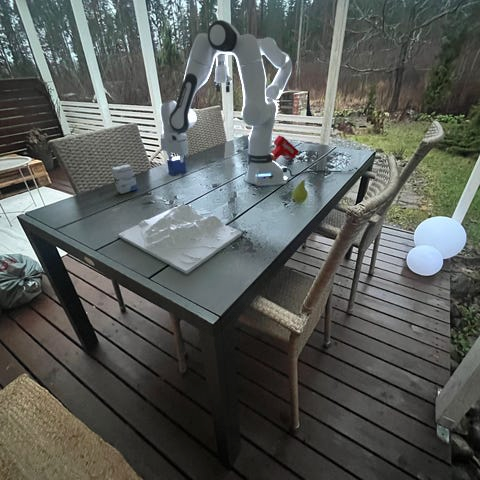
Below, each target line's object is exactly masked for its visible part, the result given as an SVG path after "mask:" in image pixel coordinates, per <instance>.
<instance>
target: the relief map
mask: <svg viewBox="0 0 480 480" xmlns="http://www.w3.org/2000/svg"><path fill="white" fill-rule="evenodd" d="M242 235H243V231H242V230H239V229H238V228H234V227H231V226H229V225H226V224H224V223H223V222H222V221H221V220H220V219H219V218H218V216H216V215H214V214H212V215H210V216H207V217H205V216H204V215H203V214H199V213H198V212H197V211H196V209H195V208H194V207H193V206H192V205H191V204H187V205H186V204H185V202H182V204H180V205H179V206H174V207H171V208H170V209H168V210H165V211H163V212H161V213H159V214H157V215H154V216H153V217H150V218H149V219H143V220H141V221H140V222H139V223H138V224H137V225H134V226H132V227H129V228H128V229H126V230H123V231H122V232H120V233H117V236H118V238H120V239H121V240H123V241H125V242H127V243H129V244H131V245H132V246H134V247H136V248H138V249H140V250H141V251H143V252H145V253H147V254H149V255H151V256H153V257H154V258H156V259H158V260H160V261H162V262H163V263H165V264H166V265H169V266H171V267H173V268H175V269H176V270H178V271H180V272H182V273H183V274H185V275H188V274H190V273H191V272H192V271H193V270H195V269H196V268H198V267H199V266H201V265H202V264H203V263H205V262H206V261H208V260H209V259H211V258H212V257H214V256H215V255H216V254H217V253H219V252H220V251H222V250H223V249H224V248H226V247H227V246H229V245H230V244H231V243H233V242H235V241H236V240H237V239H238V238H240V237H241V236H242Z"/></svg>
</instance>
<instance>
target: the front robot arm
mask: <svg viewBox="0 0 480 480" xmlns="http://www.w3.org/2000/svg"><path fill="white" fill-rule="evenodd" d="M256 39H257V38H256V37H255V35H254V34H251V33H244V34H241V32H240V31H239V30H238V29H237V28H236V27H235V26H234V25H233V24H231V23H229V22H228V21H225V20H223V19H222V20H221V19H219V20H215V21H213V22H212V23H211V24H210V25H209V27H208V31H207V33H205V32H200V33H197V35H196V36H195V38H194V41H193V44H192V46H191V49H190V52H189V56H188V59H187V65H186V69H185V72H184V73H185V74H184V78H183V81H182V85H181V87H180V92H179V94H178V98H177V101H175V100H168V101H164V102H162V103H161V104H160V105H159V114H160V120H161V123H162V133H161V134H160V148H161V150H162V151H165V152H166V155H167V156H168V159H170V158H173V155H172V154H176V155H178V156H180V159H179V162H181V163H182V162H183V158H185V156H187V155H188V154H189V152H190V150H189V143H188V141H187V139H188V136H187V134H186V131H188V130H190V129H191V128H192V127H193V126H194V125H196V123H197V114H196V112H195V110H193V109H192V108H191V107H192V104H193V101H194V97H195V95H196V93H197V92H198V91H199V90H200V88H202V87H203V86H204V85H205V84H206V83H207V82H208V79H209V78H210V75H211V73H212V70H213V67H214V66H213V65H214V63H215V60H216V56H217V55H218V54H221V55H227V56H234V57H235V60H236V64H237V68H238V73H239V77H240V81H241V86H242V97H243V98H242V99H243V100H242V101H243V104H242V105H243V106H242V108H241V109H242V110H241V118H242V120H243V123H245V125H246V126H250V127H251V130H250V132H249V136H248V152H247V155H246V156H247V157H246V158H247V159H246V162H247V171H246V175H245V177H244V179H245V180H244V181H245V182H246V183H249V184H252V185H255V186H257V187H267V186H279V185H286V184H288V182H289V181H288V180H289V179H288V177H287V176H286V175H285V173H287V172H288V171H289V175H290V176H291V177H296V176H298V175H301V174H306V173H342V172H341V171H342V170H323V169H322V170H319V169H318V170H306V171H301V172H298V173H296V174H293V173H292V170H291V168H289V167H287V166H285V165H284V164H279V163H277V161H276V162H275V161H274V160H275V159H276V157H275V156H274V155H273V154H272V153H271V148H272V147H271V135H272V136H273V134H272V131H274V125H275V120H276V116H277V114H278V111H279V106H278V103H277V101H275V100H273V99H271V98H268V97H265V90H266V87H267V86H266V85H267V75H266V70H265V66H264V65H265V64H264V60H263V57H262V56H263V54H262V55H261V52H260V48H259V45H258V43H257V40H256ZM276 160H277V159H276ZM351 169H352V168H351ZM351 169H348V170H349V171H348V172H351V171H354V169H352V170H351ZM355 170H358V167H357V168H355Z"/></svg>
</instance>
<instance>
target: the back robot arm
mask: <svg viewBox="0 0 480 480" xmlns="http://www.w3.org/2000/svg"><path fill="white" fill-rule="evenodd" d="M256 40H257V43H258V45H259V48H260V52H261V55H262V56H263V55H264V56H265V57H266V58H267V60H268V61H269V62H270V63H271V64H272V65H273V66H274V68H276V69H278V71H277V73H276V75H275V77H274V78H273V81H272V82H271V84H269V85H268V86H266V87H265V97H268V98H271V99H273V100H275V102H277V100H278V99H279V98H280V97H281V95H282V94H283V91H284V89H285V87H286V85H287V83H288V81H289V79H290V77H291V74H292V70H293V63H292V59H291V56H290V55H289V54H288V53H286V52H285V51H282V50H281V49H280V48H279V47H278V45H277V42H276V40H275V39H274V38H272V37H269V36H265V37H264V38H256ZM215 60H216V62H215V64H216V66H215V72H214V73H215V75H214V76H215V77H213V81H214V84H215V85H214V86H215V87H216V88H215V89H216V92H217V93H218V92H221V84H225V93H230V91H231V89H230V86H231V84H232V81H233V78H232V77H230V71H229V66H228V55H221V54H218V55H217V56H216V57H215ZM273 131H274V130H273ZM273 131H272V135H271V148H272V147H275V144H274V141H275V140H276V138H273V133H274V132H273Z"/></svg>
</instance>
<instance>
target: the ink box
mask: <svg viewBox="0 0 480 480" xmlns="http://www.w3.org/2000/svg"><path fill="white" fill-rule="evenodd" d="M110 170H111V173H112V176H113V181H114V184H115V188H116V191H117V192H118V193H119V194H121V195H122V194H126V193H130V192H132V191H133V192H134V191H136V190H138V185H137V181H136V177H135V171H134V167H133V165H130V164H124V165H120V166H119V165H118V166H115V167H111V168H110Z"/></svg>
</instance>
